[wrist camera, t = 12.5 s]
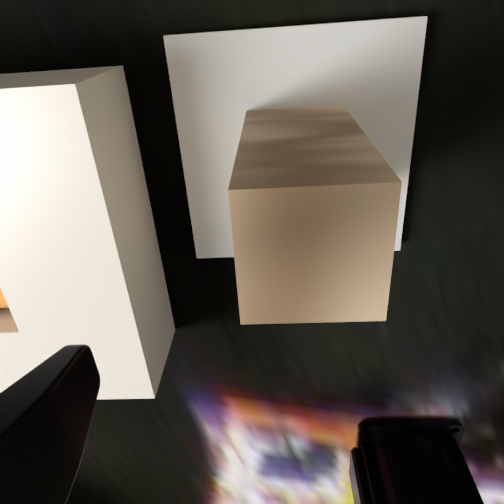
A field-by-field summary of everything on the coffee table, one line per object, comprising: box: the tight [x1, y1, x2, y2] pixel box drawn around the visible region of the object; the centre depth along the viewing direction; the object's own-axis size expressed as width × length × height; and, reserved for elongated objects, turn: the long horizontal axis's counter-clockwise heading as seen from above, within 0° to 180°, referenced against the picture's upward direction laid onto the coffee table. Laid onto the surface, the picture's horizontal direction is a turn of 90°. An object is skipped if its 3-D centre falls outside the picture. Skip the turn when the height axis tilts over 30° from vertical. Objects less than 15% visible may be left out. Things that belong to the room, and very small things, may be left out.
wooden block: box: [228, 105, 402, 324], centre depth 15 cm, size 4×4×9 cm
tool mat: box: [163, 16, 428, 258], centre depth 19 cm, size 10×10×1 cm
